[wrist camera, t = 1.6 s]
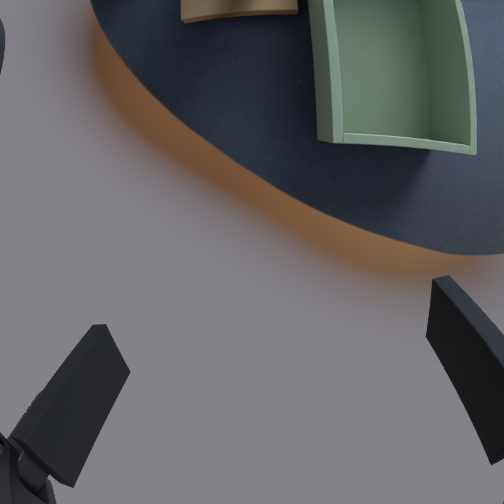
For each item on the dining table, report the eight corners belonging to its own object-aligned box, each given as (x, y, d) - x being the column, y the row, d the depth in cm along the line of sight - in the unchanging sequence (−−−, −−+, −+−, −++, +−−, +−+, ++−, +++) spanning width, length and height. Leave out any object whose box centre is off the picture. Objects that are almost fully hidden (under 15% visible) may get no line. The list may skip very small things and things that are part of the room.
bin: (317, 140, 30) (333, 143, 22) (301, -41, 21) (308, -82, 13) (432, 147, 28) (476, 155, 20) (413, -25, 20) (443, -54, 12)
